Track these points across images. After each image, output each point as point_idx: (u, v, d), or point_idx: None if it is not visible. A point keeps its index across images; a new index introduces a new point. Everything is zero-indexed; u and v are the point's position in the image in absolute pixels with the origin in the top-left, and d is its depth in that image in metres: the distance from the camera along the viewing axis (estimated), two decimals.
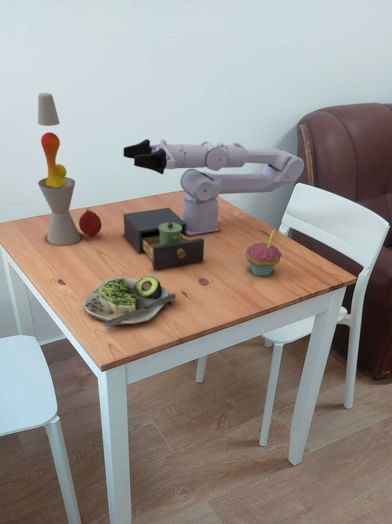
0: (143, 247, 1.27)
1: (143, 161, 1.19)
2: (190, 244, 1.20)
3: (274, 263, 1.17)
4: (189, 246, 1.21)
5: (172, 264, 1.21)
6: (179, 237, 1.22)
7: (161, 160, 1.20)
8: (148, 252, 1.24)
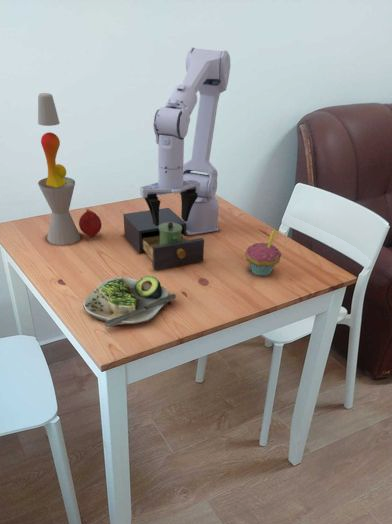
0: (143, 247, 1.27)
1: None
2: (190, 244, 1.20)
3: (274, 263, 1.17)
4: (189, 246, 1.21)
5: (172, 264, 1.21)
6: (179, 237, 1.22)
7: None
8: (148, 252, 1.24)
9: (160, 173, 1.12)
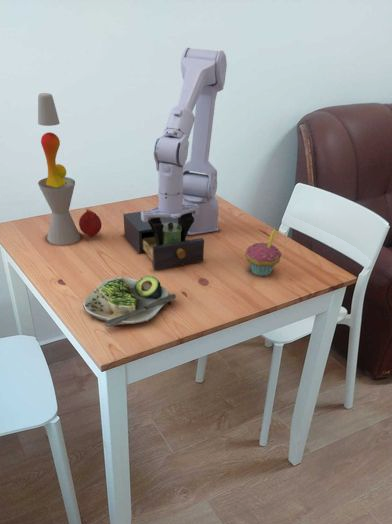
0: (143, 247, 1.27)
1: None
2: (190, 244, 1.20)
3: (274, 263, 1.17)
4: (189, 246, 1.21)
5: (172, 264, 1.21)
6: (179, 237, 1.22)
7: None
8: (148, 252, 1.24)
9: (160, 198, 1.16)
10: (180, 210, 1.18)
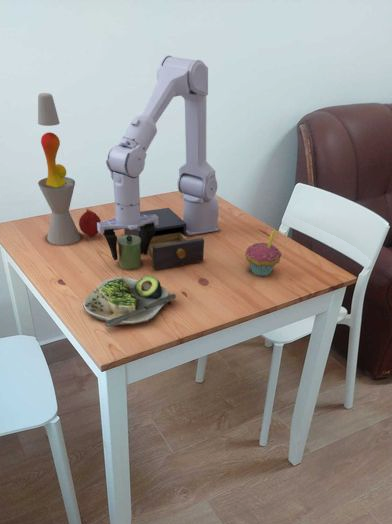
0: None
1: None
2: (190, 244, 1.20)
3: (274, 263, 1.17)
4: (189, 246, 1.21)
5: (172, 264, 1.21)
6: (138, 250, 1.19)
7: None
8: (148, 252, 1.24)
9: (116, 209, 1.13)
10: (137, 221, 1.15)
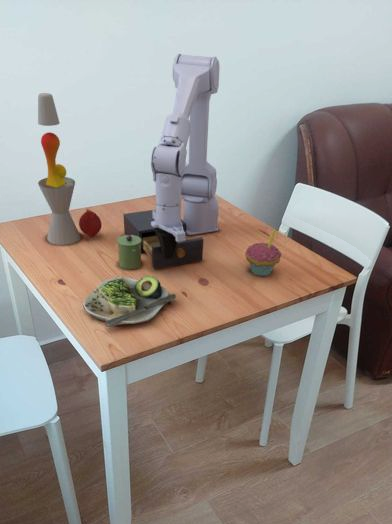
0: (142, 246, 1.27)
1: (169, 250, 1.17)
2: (189, 243, 1.21)
3: (274, 263, 1.17)
4: (188, 245, 1.21)
5: (171, 263, 1.22)
6: (138, 250, 1.19)
7: None
8: (147, 251, 1.24)
9: None
10: (161, 223, 1.11)
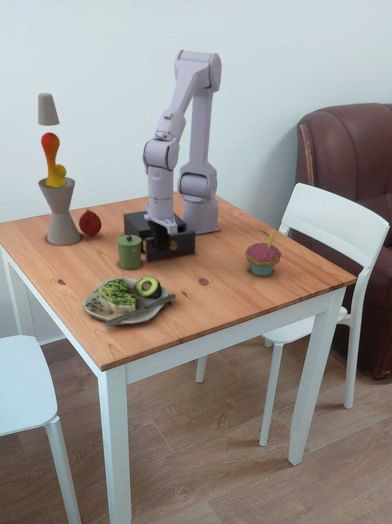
0: None
1: (162, 243, 1.20)
2: (182, 236, 1.24)
3: (274, 263, 1.17)
4: (181, 238, 1.24)
5: (164, 256, 1.25)
6: (138, 250, 1.19)
7: None
8: None
9: None
10: (154, 216, 1.14)
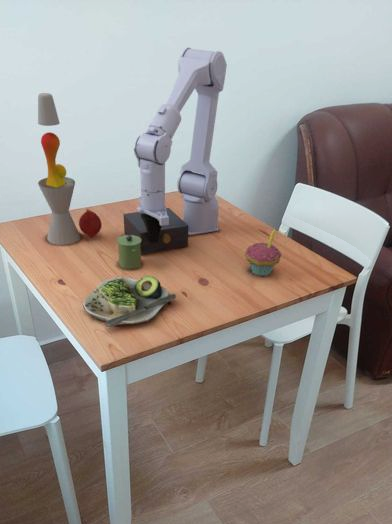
0: None
1: (153, 234, 1.23)
2: (175, 229, 1.27)
3: (274, 263, 1.17)
4: (174, 231, 1.27)
5: (158, 249, 1.28)
6: (138, 250, 1.19)
7: None
8: None
9: None
10: (146, 208, 1.17)
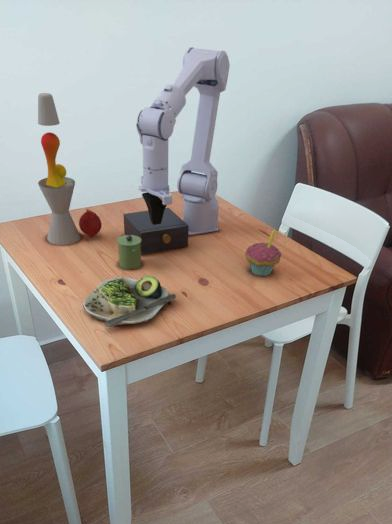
0: None
1: (157, 216, 1.18)
2: (175, 229, 1.27)
3: (274, 263, 1.17)
4: (174, 231, 1.27)
5: (158, 249, 1.28)
6: (138, 250, 1.19)
7: None
8: None
9: None
10: (148, 187, 1.12)
